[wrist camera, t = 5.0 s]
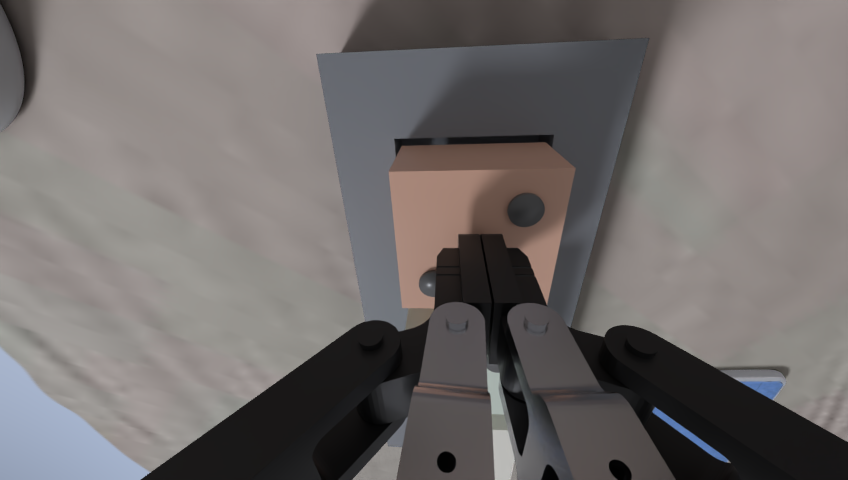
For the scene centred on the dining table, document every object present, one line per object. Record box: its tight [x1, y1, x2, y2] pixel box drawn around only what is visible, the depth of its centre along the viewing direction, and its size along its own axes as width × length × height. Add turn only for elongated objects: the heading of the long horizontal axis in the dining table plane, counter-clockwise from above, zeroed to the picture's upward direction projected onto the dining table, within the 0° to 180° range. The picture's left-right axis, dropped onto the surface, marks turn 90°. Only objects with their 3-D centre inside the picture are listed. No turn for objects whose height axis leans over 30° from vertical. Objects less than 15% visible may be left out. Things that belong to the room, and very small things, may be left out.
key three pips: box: [389, 142, 576, 309], centre depth 13 cm, size 6×6×4 cm
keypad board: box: [316, 38, 649, 447], centre depth 20 cm, size 12×28×3 cm, turn 2°
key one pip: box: [492, 414, 515, 480], centre depth 21 cm, size 6×6×4 cm
